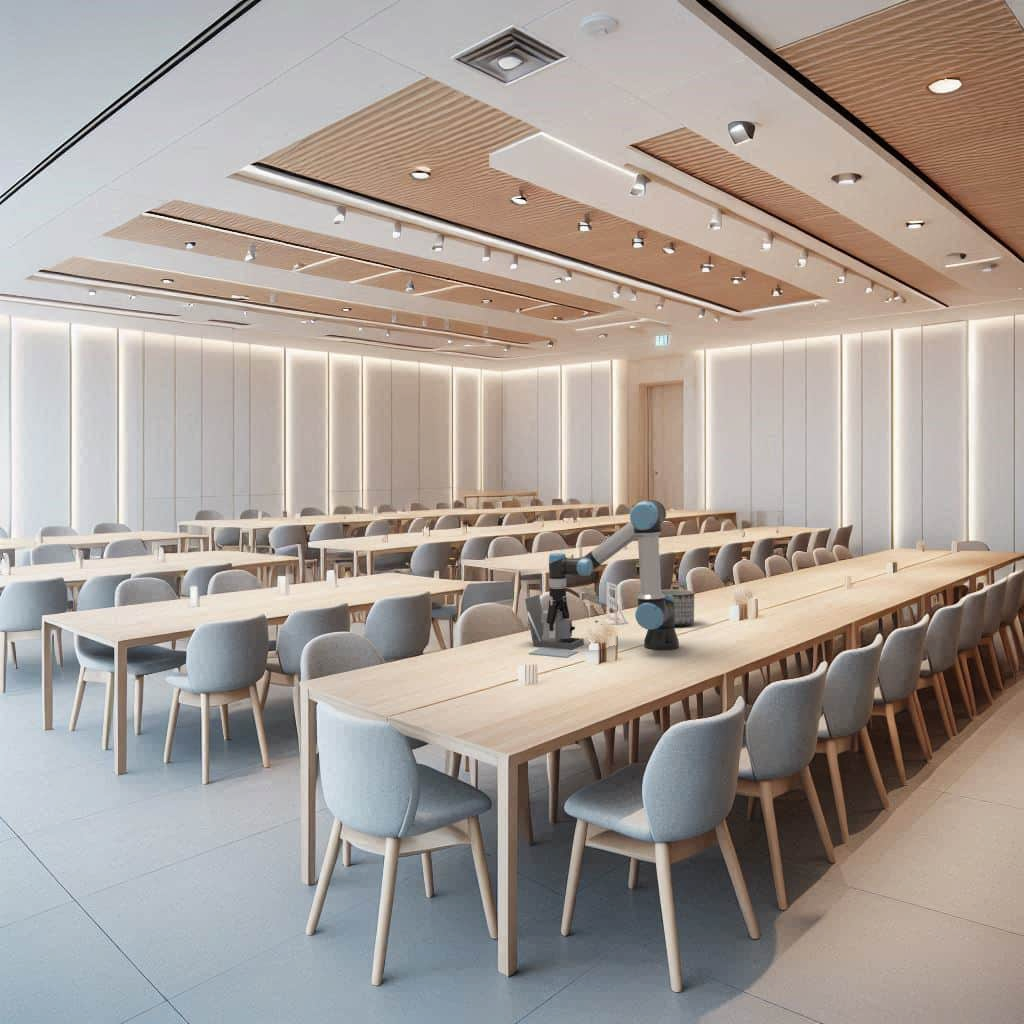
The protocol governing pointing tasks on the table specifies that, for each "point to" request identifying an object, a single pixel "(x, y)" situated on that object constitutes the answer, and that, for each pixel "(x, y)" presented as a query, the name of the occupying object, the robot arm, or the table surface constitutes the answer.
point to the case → (538, 628)
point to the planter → (682, 606)
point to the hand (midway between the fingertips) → (558, 635)
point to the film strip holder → (609, 605)
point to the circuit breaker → (557, 628)
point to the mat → (553, 652)
